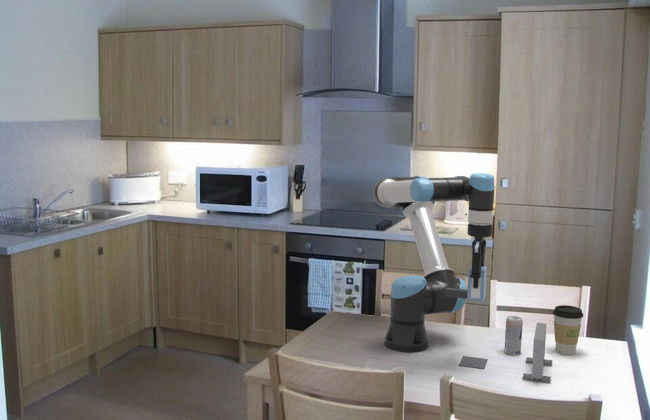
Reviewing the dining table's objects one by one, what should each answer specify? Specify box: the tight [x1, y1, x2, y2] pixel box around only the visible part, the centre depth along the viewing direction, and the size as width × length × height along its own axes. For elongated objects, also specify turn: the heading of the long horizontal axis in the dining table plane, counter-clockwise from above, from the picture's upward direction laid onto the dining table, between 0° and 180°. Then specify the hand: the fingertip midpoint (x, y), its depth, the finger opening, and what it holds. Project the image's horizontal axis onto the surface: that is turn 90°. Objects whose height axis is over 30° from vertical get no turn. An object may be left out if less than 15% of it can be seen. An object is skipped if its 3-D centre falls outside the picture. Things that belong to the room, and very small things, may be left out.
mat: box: [458, 355, 489, 370], centre depth 231 cm, size 8×9×1 cm
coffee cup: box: [552, 304, 584, 356], centre depth 241 cm, size 10×10×15 cm
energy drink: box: [504, 315, 524, 356], centre depth 240 cm, size 5×5×12 cm
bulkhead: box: [522, 322, 553, 384], centre depth 223 cm, size 8×18×13 cm, turn 161°
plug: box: [446, 265, 488, 303], centre depth 228 cm, size 12×6×10 cm, turn 71°
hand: (476, 295), depth 227 cm, fingers closed on plug, 5 cm apart
